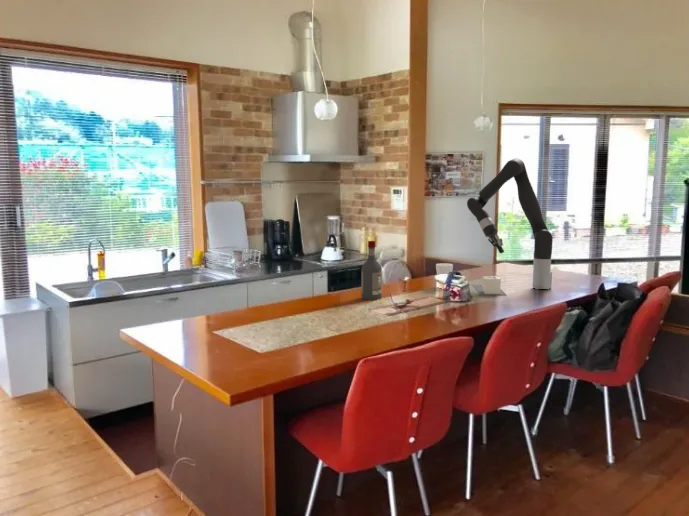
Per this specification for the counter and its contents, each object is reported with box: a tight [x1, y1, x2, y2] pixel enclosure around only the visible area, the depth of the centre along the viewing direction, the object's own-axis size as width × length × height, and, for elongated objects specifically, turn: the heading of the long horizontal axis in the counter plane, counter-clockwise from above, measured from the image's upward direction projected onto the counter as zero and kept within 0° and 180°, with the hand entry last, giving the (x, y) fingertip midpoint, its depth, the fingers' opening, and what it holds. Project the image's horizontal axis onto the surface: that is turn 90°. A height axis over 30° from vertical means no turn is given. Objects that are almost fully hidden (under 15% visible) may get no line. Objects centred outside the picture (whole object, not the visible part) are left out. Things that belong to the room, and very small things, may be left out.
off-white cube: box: [482, 275, 502, 294], centre depth 315 cm, size 8×8×8 cm
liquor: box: [360, 240, 383, 301], centre depth 302 cm, size 9×9×30 cm
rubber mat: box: [471, 284, 507, 296], centre depth 323 cm, size 28×14×1 cm, turn 177°
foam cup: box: [435, 263, 454, 276], centre depth 332 cm, size 10×9×13 cm
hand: (502, 252), depth 328 cm, fingers closed
